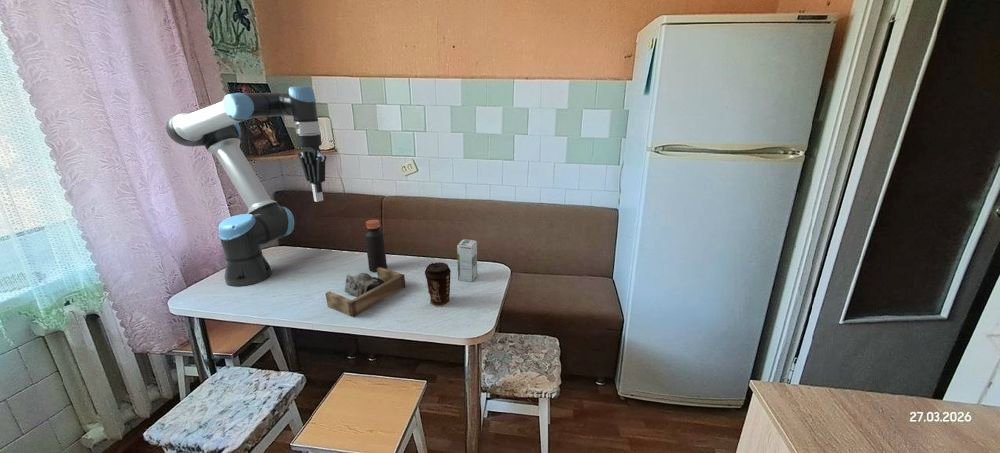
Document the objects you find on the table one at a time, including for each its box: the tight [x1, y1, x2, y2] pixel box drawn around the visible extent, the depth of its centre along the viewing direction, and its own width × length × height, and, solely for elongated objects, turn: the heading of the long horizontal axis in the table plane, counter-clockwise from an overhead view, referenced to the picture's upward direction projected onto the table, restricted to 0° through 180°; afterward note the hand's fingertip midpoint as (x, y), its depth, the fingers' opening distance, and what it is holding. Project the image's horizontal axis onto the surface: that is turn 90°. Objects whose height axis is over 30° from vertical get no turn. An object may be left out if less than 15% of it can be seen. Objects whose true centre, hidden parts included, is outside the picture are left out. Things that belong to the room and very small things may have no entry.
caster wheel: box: [344, 272, 385, 298], centre depth 139 cm, size 7×11×10 cm
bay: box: [325, 267, 407, 318], centre depth 135 cm, size 12×23×5 cm, turn 149°
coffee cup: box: [424, 261, 451, 308], centre depth 130 cm, size 9×8×13 cm
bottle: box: [364, 219, 388, 274], centre depth 153 cm, size 7×7×20 cm
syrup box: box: [456, 239, 478, 283], centre depth 146 cm, size 6×6×14 cm
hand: (318, 200), depth 143 cm, fingers closed
